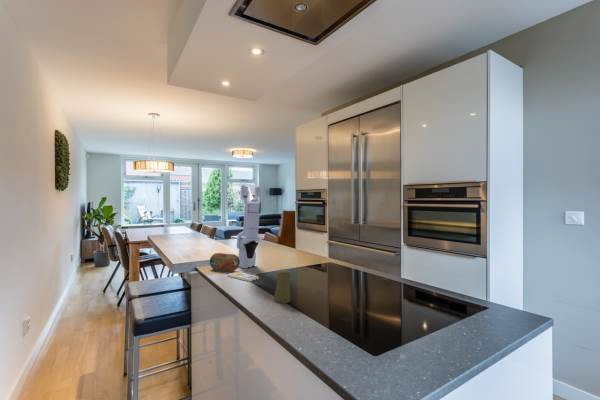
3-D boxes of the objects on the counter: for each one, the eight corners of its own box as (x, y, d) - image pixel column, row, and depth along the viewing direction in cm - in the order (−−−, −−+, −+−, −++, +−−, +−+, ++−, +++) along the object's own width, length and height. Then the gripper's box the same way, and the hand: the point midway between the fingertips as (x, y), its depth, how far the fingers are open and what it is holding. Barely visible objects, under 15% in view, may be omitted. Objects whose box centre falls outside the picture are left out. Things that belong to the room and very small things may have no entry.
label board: (236, 274, 143) (237, 271, 143) (258, 279, 136) (258, 276, 136) (227, 276, 137) (227, 273, 137) (249, 281, 131) (249, 278, 131)
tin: (208, 269, 149) (210, 252, 149) (211, 268, 152) (213, 251, 152) (237, 272, 146) (238, 255, 146) (239, 271, 149) (241, 254, 149)
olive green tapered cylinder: (291, 298, 111) (293, 269, 111) (289, 304, 105) (291, 272, 105) (275, 297, 112) (277, 267, 112) (272, 302, 106) (274, 270, 106)
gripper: (250, 226, 144) (248, 254, 143) (236, 228, 130) (234, 259, 129) (264, 227, 142) (262, 256, 141) (251, 229, 128) (249, 261, 127)
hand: (249, 258), depth 135 cm, fingers closed
